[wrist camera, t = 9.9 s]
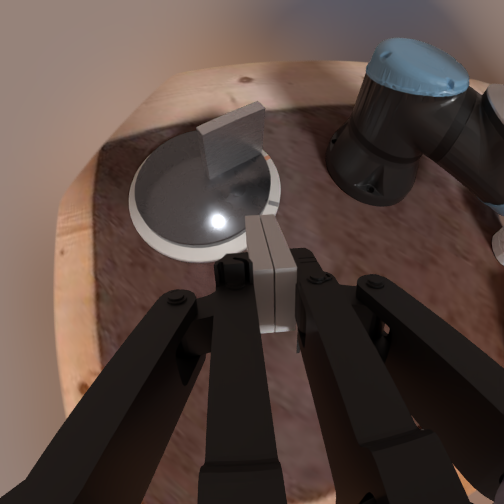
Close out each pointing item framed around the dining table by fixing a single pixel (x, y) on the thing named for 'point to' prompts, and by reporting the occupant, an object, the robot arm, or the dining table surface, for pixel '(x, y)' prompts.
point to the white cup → (499, 245)
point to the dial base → (209, 252)
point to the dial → (206, 181)
